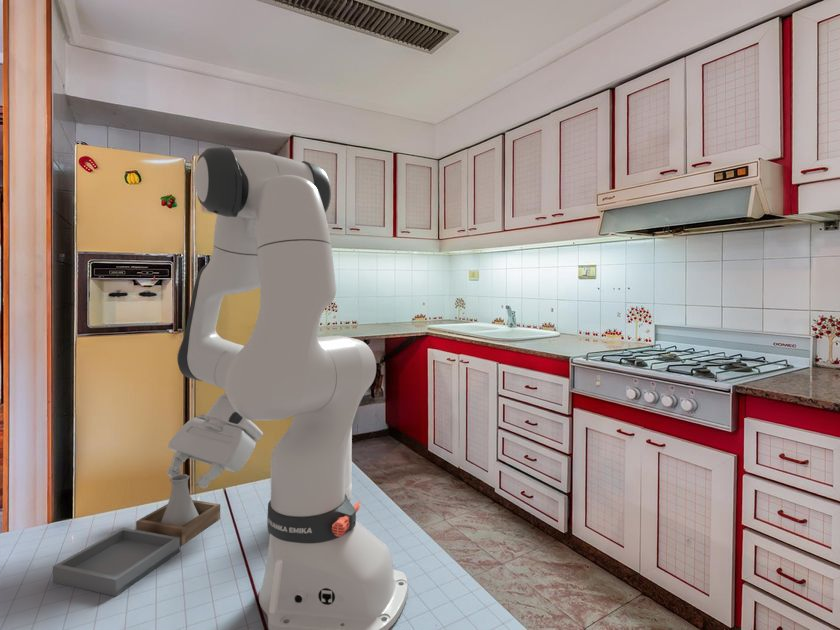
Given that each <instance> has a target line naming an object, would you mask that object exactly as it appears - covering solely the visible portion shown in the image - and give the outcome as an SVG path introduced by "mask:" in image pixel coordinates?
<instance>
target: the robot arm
mask: <svg viewBox="0 0 840 630" xmlns="http://www.w3.org/2000/svg"><path fill="white" fill-rule="evenodd" d="M193 184H194V189H195V192H196V195H197V199H198V201H199V203H200V205H202V206H203V208H204V209H206V210H207V212H210V213H213V214H216V219H215V225H214V230H213V231H214V233H213V246H212V247H213V250H212V254H211V258H210V259H209V262H208V263H207V264H205V265H203V266H202V267H201V268H200V270H199V272H198V273H197V276H196V278H195V282H194V285H193V291H192V295H191V300H190V305H189V311H188V315H187V320H186V326H185V332H184V335H183V339H182V341H181V343H180V346H179V347H178V351H177V358H176V359H177V365H178V368H179V371H180V373H181V374H182V375H183V376H184V377H186V378H189V379H193V380H196V381H200V382H204V383H207V384H210V385H212V386H215V387H218V388H220V389H223V390H225V392H223V393H222V394H221V395H220V396H219V397H217V399H216V401H214V403H213V405H212V406H210V409H209V410H208V411H207V413H205V414H199V415H197V416H196V417H193V418H191V419H189V420H188V421H187V422H186V423H185V424H184V425H182V427H180V429H179V430H178V431H177V432H176V433H175V434H174V435H173V437H172V438H171V439H170V440H169V443H168V449H169V450H171V451H172V452H173V453H174V455H173V456H172V461H171V465H170V466H169V468H168V469H167V470H166V475H167V476H169V477H170V478H172V477H173V476H176V475H179V474H180V473H181V472H182V470H181V466H182V465H183V463H185V462H186V460H187V459H190V460H191V459H192V460H195V461H198V462H201V463H204V464H207V465H210V466H209V468H210V469H209V470H208V471H207V472H206V473H205V474H203V475H199V476H198V478H197V480H196V481H195V485H196V486H197V487H198V488H201V489H207V488H208V486H209V485H210V483H211V482H212V481H213V480H215V479H216V478H218V477H219V476H220V475H221V474H223V472H224V470H225V471H230V472H233V473H237V472H238V471H240V470H241V469H243V468H244V466H245V464H246V463H247V462H248V460H249V458H250V457H251V455H252V454H253V452H254V450H255V448H256V444H257V442H259V441H260V440H261V439H262V438H263V435H264V432H263V431H262V430H261V429H260V428H259V426H257V424H255V423H254V421H257V422H259V421H261V422H262V421H264V422H265V421H267V422H268V421H281V420H287V419H290V418H292V417H293V418H292V421H291V422H290V425H289V426H288V429H287V430H286V432H285V433H284V434H283V436H282V437H281V438H280V439H279V440H278V441H277V443H276V444H275V446H274V447H273V450H272V452H271V455H270V500H269V501H268V504H267V515H266V517H267V520H266V521H267V523H266V527H267V531H268V532H267V533H268V535H269V539H268V540H269V541H268V550H267V551H268V553H267V559H266V565H265V566H266V567H265V570H264V575H263V576H264V577H263V580H262V584H261V587H260V591H259V594H258V602H259V604H260V608H261V609H262V610H263V612H264V613H265V614H266V616H267V627H268V630H390V629H391V628H392V626H394V624H395V623H396V621H397V620H398V618H399V617H400V615H401V613H402V611H403V609H404V607H405V604H406V602H407V598H408V594H409V585H408V579H407V576H406V574H405V572H403V571H400V570H397V569H394V564H393V558H392V554H391V551H390V549H389V547H388V545H387V544H385V542H383V541H381V540H380V539H379V538H378V537H376V536H375V534H373V533H372V532H371V531H370V530H369V529H368V528H366V527H365V526H363V525H362V524H361V523H360V522H359V521H358V520H356V519H357V515H356V514H357V513H358V511H359V510H360V503H361V501H360V500H358V501H357V502H356V503H355V504H354V505H353V504H352V503H351V502H350V500H348V497H347V495H346V494H345V467H346V450H347V444H348V439H349V434H350V431H351V427H352V428H353V423H354V420H355V417H356V413H357V411H358V409H359V406H360V404H361V401H362V400H363V397H364V395H365V394H366V392H367V391H369V389H370V387H371V386H372V384H373V383H374V381H375V378H376V374H377V360H376V357H375V355H374V353H373V351H372V349H371V348H370V347H369V345H368V344H367V343H366V342H365V341H362V340H360V339H357V338H353V337H349V336H343V335H327V336H318V335H319V334H318V333H319V326H320V320H321V317H322V314H323V312H324V310H325V309H326V308H327V307H329V305H330V304H332V302H333V301H334V299H335V298H336V293H337V285H336V275H335V266H334V259H333V258H334V257H333V256H334V255H333V250H332V249H333V248H332V240H331V234H330V229H329V223H328V219H327V216H326V213H327V211H328V209H329V207H330V204H331V199H332V189H331V188H332V187H331V186H332V185H331V182H330V179H329V177H328V175H327V173H326V171H325V170H324V169H323V168H321V167H320V166H318V165H315V164H314V163H311V162H308V161H305V160H303V161H299V160H295V159H292V158H288V157H284V156H280V155H275V154H271V153H269V152H264V151H259V150H258V151H257V150H248V149H245V150H244V149H231V148H230V147H225V146H223V147H222V146H221V147H219V146H218V147H211V148H206V149H205V150H204V151H203V152H202V153H201V154H200V155H199V156H198V158H197V162H196V165H195V167H194V173H193ZM258 288H259V290H260V294H259V295H260V299H259V310H258V315H257V319H256V322H255V325H254V327H253V329H252V333H251V334H250V337H249V338H248V340H247V342H246V343H245V345H243V344H240V343H236V342H233V341H230V340H228V339H225V338H222V337H221V336H220V335H219V334H218V332H217V330H216V328H217V324H218V321H219V316H220V315H219V314H220V311H221V310H220V309H221V306H222V301H223V299H224V298H225V297H226V296H228V295H234V294H235V295H238V294H243V293H247V292H251V291H254V290H256V289H258Z"/></svg>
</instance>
